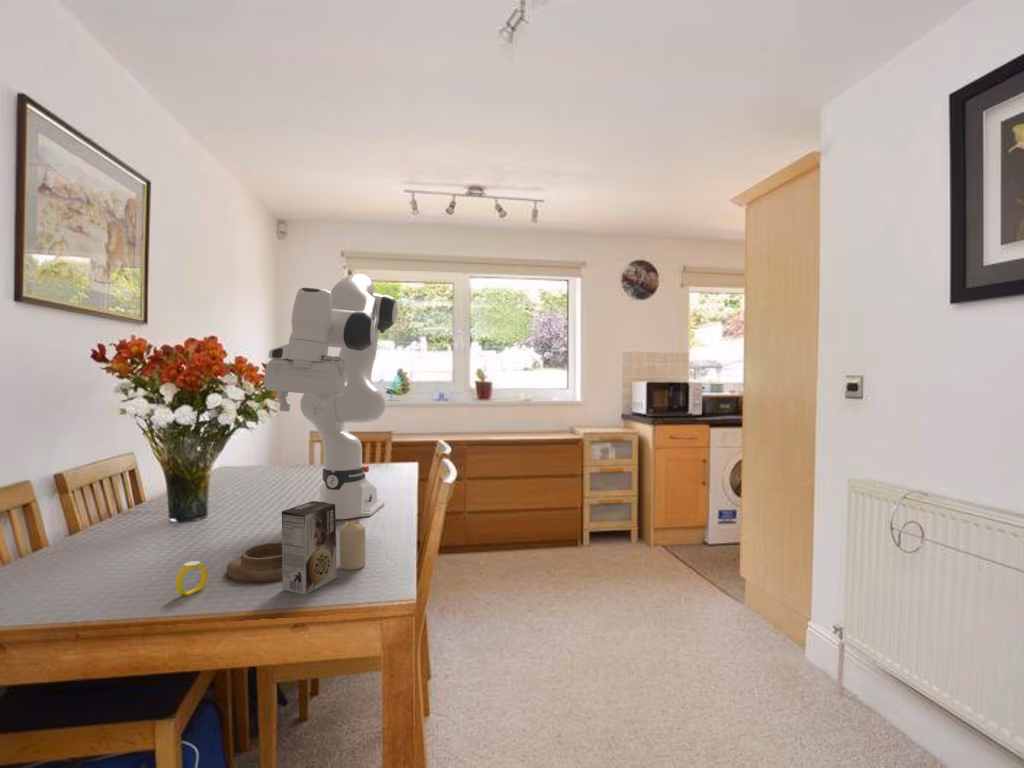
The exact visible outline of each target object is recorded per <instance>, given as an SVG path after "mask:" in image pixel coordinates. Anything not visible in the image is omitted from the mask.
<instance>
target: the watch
mask: <svg viewBox="0 0 1024 768" xmlns="http://www.w3.org/2000/svg"><path fill="white" fill-rule="evenodd" d="M197 568H199V569H200V573H201V577H200V581H199V582H198V584H197V585H196V587H195V588H193V589H190V590H188V591H184V589H183V579H184V577H185V575H186V574H187V572H188V571H189V570H193V569H197ZM208 576H209V575H208V568H206V566H205V565H204V564H202V563H201V561H198V560H194V561H193V560H192V561H188V562H185V563H184V564H183V567H182V569H181V570H180V571H179V572H178V574H177V576H176V579H175V589H176V591H177V593H178V594H180V595H182V596H187V597H188V596H190V595H193V594H195V593H199V592H200V591H202V589H203V588H204V587H205V585H206V583H207V580H208Z"/></svg>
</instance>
